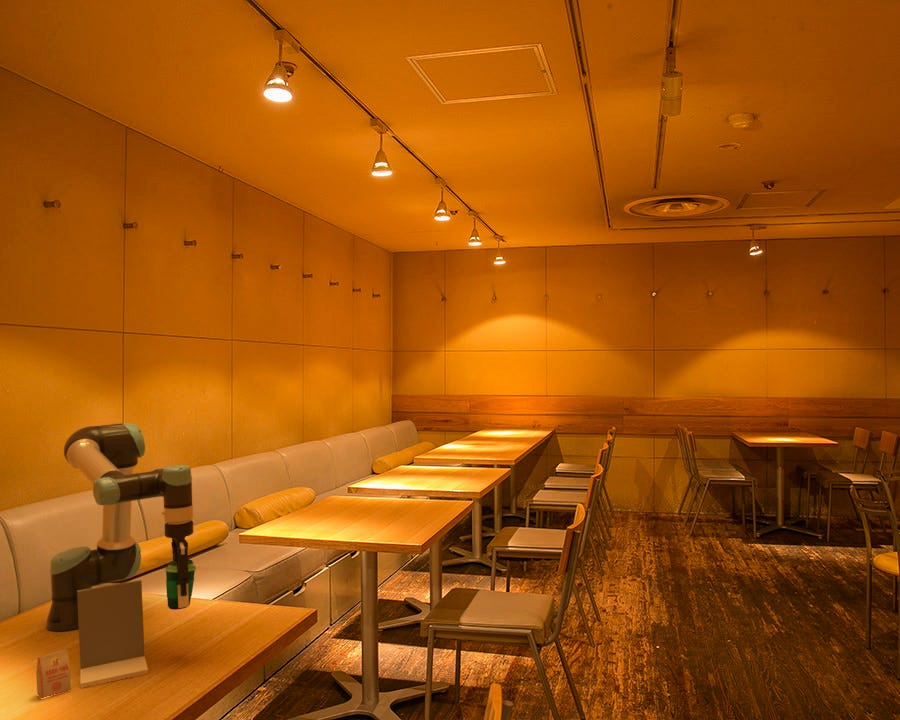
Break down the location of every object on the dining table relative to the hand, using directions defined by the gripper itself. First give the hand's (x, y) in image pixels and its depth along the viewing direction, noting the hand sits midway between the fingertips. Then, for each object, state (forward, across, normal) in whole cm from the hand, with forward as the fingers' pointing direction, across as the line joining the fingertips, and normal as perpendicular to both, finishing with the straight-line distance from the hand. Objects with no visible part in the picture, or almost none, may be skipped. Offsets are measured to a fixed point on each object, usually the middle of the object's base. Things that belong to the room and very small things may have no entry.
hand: (181, 602), depth 204 cm
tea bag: (+16, +6, -32) cm, 36 cm away
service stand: (+15, +1, -18) cm, 24 cm away
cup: (+1, 0, 0) cm, 1 cm away
